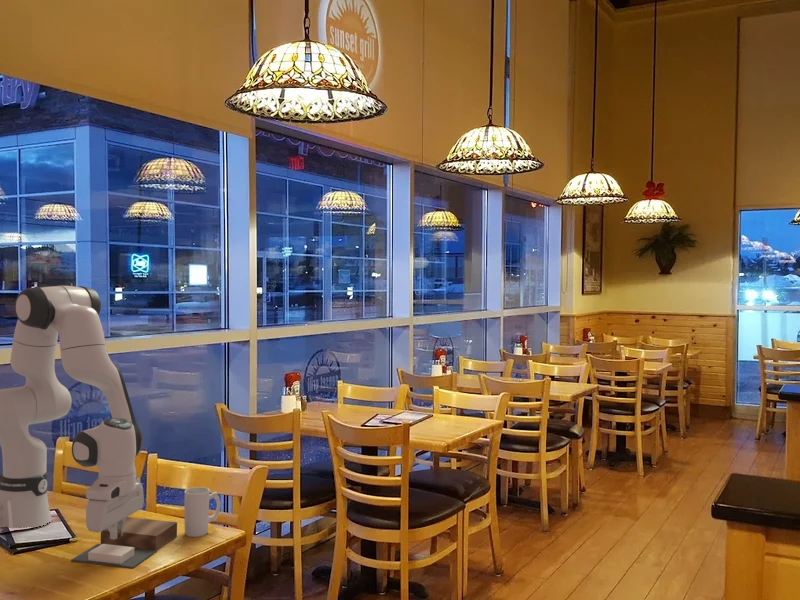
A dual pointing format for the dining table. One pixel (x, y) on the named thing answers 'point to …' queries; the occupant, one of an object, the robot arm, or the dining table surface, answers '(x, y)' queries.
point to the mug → (199, 510)
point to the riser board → (143, 534)
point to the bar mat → (130, 563)
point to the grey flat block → (111, 553)
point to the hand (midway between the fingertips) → (116, 537)
